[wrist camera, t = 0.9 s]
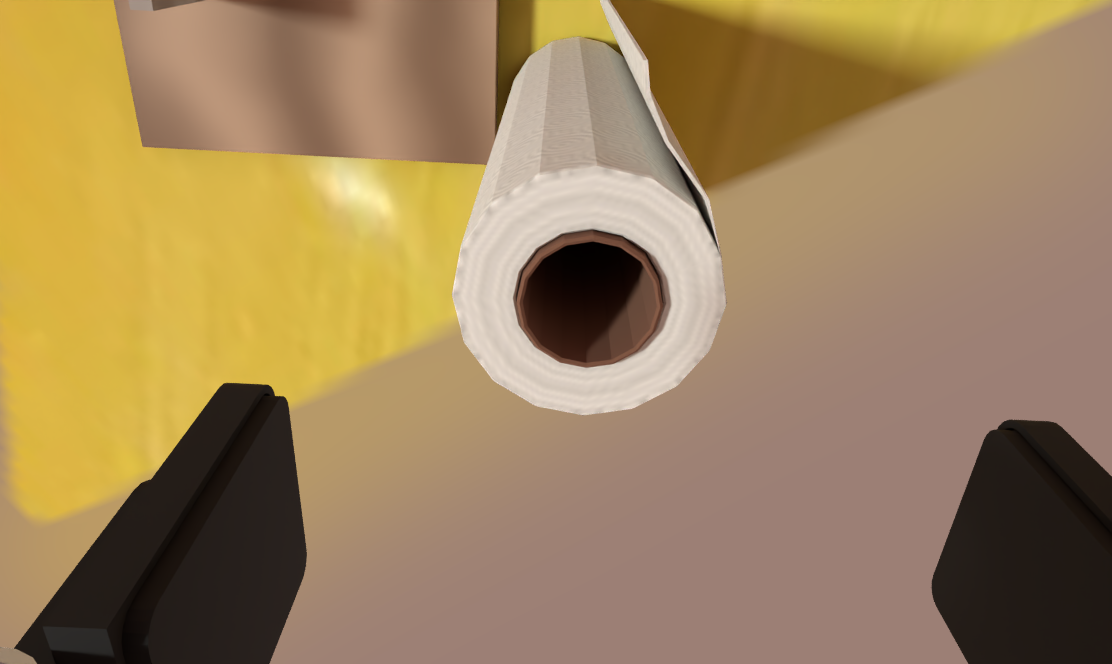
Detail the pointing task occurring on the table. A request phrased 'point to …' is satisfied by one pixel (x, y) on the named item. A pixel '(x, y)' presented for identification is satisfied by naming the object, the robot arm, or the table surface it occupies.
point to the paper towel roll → (588, 238)
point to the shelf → (316, 76)
